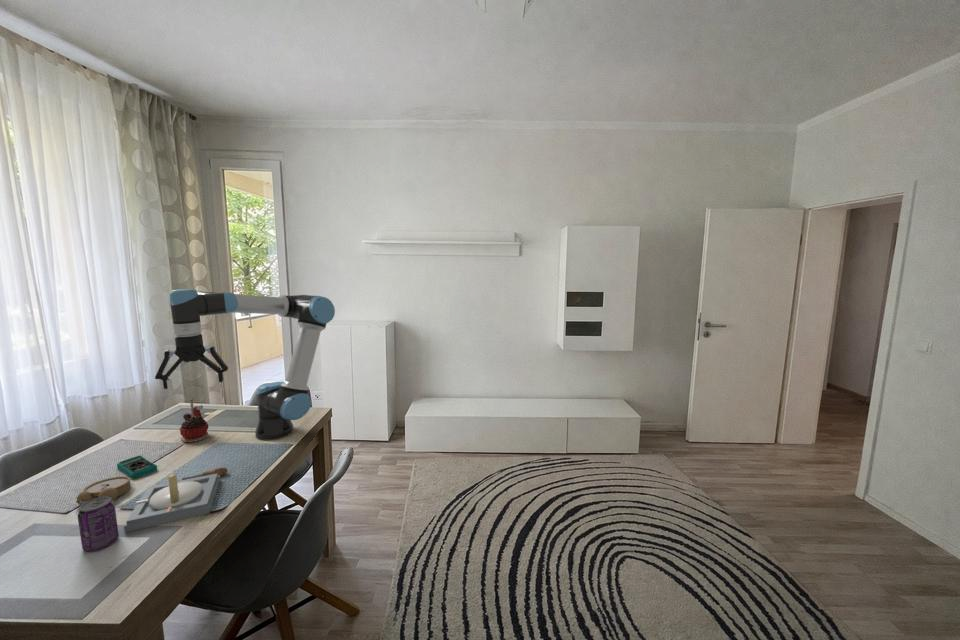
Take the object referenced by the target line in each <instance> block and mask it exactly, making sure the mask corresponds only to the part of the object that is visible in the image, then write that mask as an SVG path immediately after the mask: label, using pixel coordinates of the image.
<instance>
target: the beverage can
mask: <svg viewBox="0 0 960 640" xmlns="http://www.w3.org/2000/svg"><path fill="white" fill-rule="evenodd" d="M111 500H112V499H111V497H99V498H96V499H93V500H90V501H88V502H86V503H84V504H82V505H81V506H80V505H79V507H78V510H79V511H78V513H77V522H78V523H77V524H78V527H79V529H78V530H79V534H80V541H81V543H80V544H81V548H82V550H83V551H86V552H91V551H98V550H101V549H104V548H105V547H107V546H109V545H111V544H112V543H114V542H116V541H117V539H118V538H119V537H120V535H119V527H118V519H117V513H116V512H117V511H116V505H115V503H114V501H111Z"/></svg>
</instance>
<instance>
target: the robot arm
mask: <svg viewBox="0 0 960 640" xmlns="http://www.w3.org/2000/svg"><path fill="white" fill-rule="evenodd" d="M169 306H170V312H171V318H172V319H171V320H172V328H173V334H174V336H175V337H174V341H175V342H174V343H175V350H170V349H166V350H165V351H164V352H163V353H164V358H163V360H162V362H161V364H160V367H159V368H158V370H157V372H156V375H154V379H155V380H161V381H162V385H163V389H164V390H167V392H168V393H167V394H168V399H169V400H170V399H173V398H174V388H173V381H172V379H173V378H172V377H170V375H172V374H173V372H175V370H176V369H177V368H178V367H179V366H180V364H181V363H183V362H184V363H189V362H198V361H201V362H202V363H204V364H205V365H206V366H207V367H208V368H210V369H212V370H213V371H215V372H216V373H215V382H216V383H215V384H216V391H217V392H216V393H220V392H221V390H222V388H221V383H223V381H224V372H227V371H228V369H229V366H228V365H227V364H226V362H224V360H223V359H222V358H221V356H220V355H219V354H218V352H217V351H216V347H215V345H211V346H209V347H208V346H207V347H205V346H204V339H203V335H202V332H203V329H202V322H201V317H203V316H211V315H220V314H221V315H222V314H223V315H224V314H230V313H235V314H237V313H239V314H260V315H262V314H263V315H265V314H266V315H278V316H280V317H282V318H283V317H284V318H292V319H294V320H295V319H296V320H297V324H298V326H299V330H298V333H297V338H296V342H295V345H294V348H293V352H292V356H291V359H290V364H289V367H288V371H287V374H286V378H285V381H275V382H268V383H265V384H261V385H259V386H258V387H257V389H256V399H257V401H256V402H257V413H258V421H257V425H256V428H255V431H254V434H255V438H256V439H257V440H261V441H272V440H277V439H282V438H285V437H288V436H289V435H291V434H292V433H293V432H292V431H294V424H293V422H292V421H296V420H300V419H301V418H303V417H304V416H305V415H307V413H308V412H309V411H310V409H311V405H312V400H311V397H310V396H309V391H310V388H309V386H308V381H309V378H310V373H311V370H312V366H313V363H314V359H315V354H316V352H317V351H316V350H317V347H318V343H319V338H320V336H321V332H322V331H324V330H326V327H327V324H328V323H330V322H331V321H332V320H333V319H334V317H335V313H336V309H335V305H334V304H333V302H332V300H330V299H329V298H328V297H325V296H322V295H308V294H296V295H284V294H283V295H280V296H279V297H278V296H265V295H253V294H241V293H239V294H237V293H234V292H225V291H224V292H212V291H211V292H210V291H202V290H196V289H195V288H182V289H172V290H171V291H170V292H169ZM205 352H207V353H208V354H210V355H211V356H212V358H213V359H214V360H215V361H216V363H217V364H218V365H217V364H216V363H215V362H213V361H212V360H211V359H209V358H208V357H207V356H206V355H205ZM173 356H176V357H178V359H177V360H176V361H175V363H173V365H172V366H171V367H170V368H169V369H168V370H167V372H166V373H165V374H164V372H165V370H166V367H167V366H168V363H169V361H170V360H171V359H170V358H172V357H173ZM291 432H292V433H291ZM288 434H289V435H288ZM284 436H285V437H284Z"/></svg>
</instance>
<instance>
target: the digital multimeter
mask: <svg viewBox="0 0 960 640" xmlns="http://www.w3.org/2000/svg"><path fill="white" fill-rule="evenodd" d="M116 467H117V469H118V470H119V471H121V472H123V473H125V475H127V477H129V478H130V479H132V480H136V479H138V478H142V477H144V476H147V475H150V474H152V473H154V472H156V471H158V465H157V464H155V463H153V462H151V461H150V460H147V459H146V458H145V457H144V456H142V455H136V456H133V457H131V458H127V459H125V460H122V461H119V462H118V463H116Z"/></svg>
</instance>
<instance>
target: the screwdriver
mask: <svg viewBox="0 0 960 640" xmlns="http://www.w3.org/2000/svg"><path fill="white" fill-rule="evenodd" d="M217 473H218V475H220V477H221V476H225V475H226V474H227V473H228V469H227V467H218V468H215V469H214V468H213V469H209V470H208V469H207V470H204V471H203V472H202V473H201V474H195V475H190V476H185V477H181V480H186V479H191V478H196V477H201V476H207V475H212V474H217Z"/></svg>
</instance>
